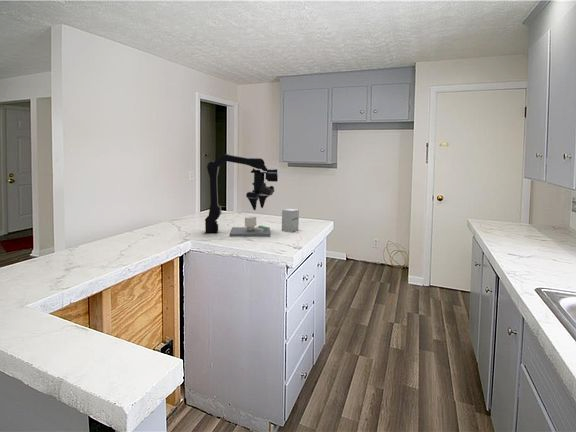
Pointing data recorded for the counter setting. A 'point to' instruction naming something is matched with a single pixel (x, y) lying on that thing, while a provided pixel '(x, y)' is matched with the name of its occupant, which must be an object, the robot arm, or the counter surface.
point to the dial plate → (250, 232)
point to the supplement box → (290, 220)
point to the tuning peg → (251, 223)
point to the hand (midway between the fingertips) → (258, 208)
